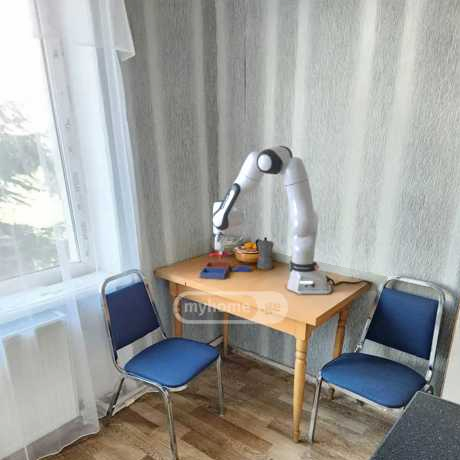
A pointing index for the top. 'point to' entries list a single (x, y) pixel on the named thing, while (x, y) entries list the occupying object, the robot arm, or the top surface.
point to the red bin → (218, 265)
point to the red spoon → (218, 254)
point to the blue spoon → (242, 268)
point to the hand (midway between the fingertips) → (221, 253)
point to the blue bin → (213, 273)
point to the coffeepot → (264, 253)
